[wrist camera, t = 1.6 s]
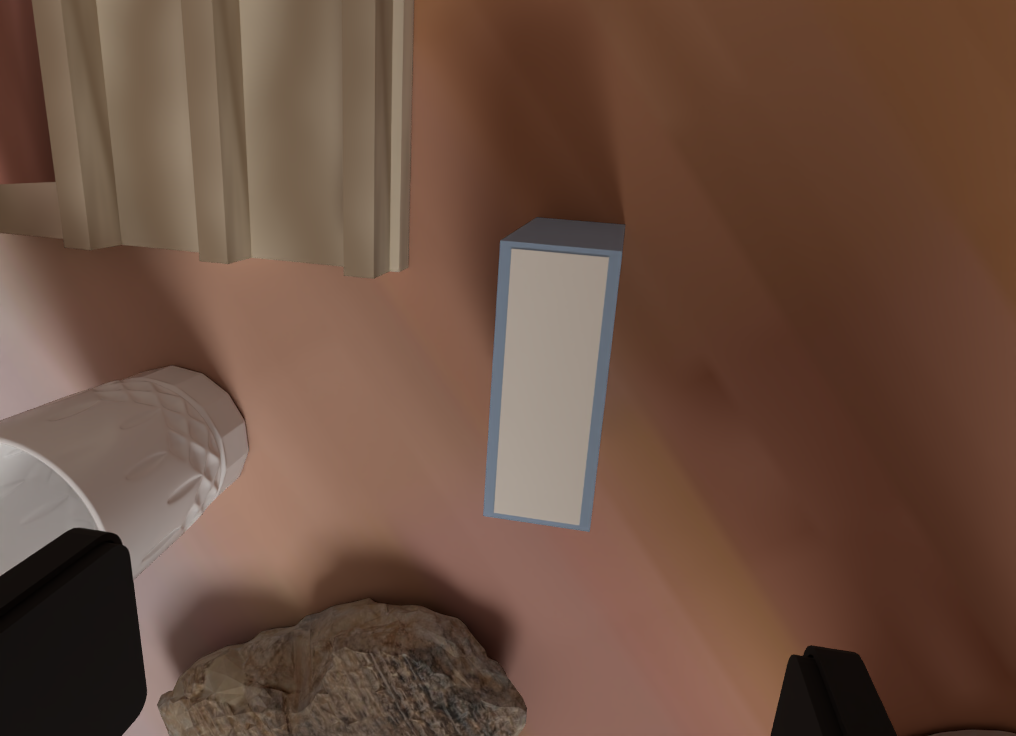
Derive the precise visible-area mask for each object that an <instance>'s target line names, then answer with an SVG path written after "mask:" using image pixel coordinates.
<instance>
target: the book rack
mask: <svg viewBox="0 0 1016 736" xmlns="http://www.w3.org/2000/svg"><path fill="white" fill-rule="evenodd" d="M413 25H414V0H0V233H6V234H17V235H27V236H37V237H47V238H57V239H63V241H64V248H73V249H83V250H95V249H101V248H107V247H112V246H118V245H128V246H139V247H149V248H159V249H169V250H179V251H189V252H199V261H203V262H213V263H223V264H230V263H233V262H237V261H241V260H245V259H248V258H261V259H271V260H281V261H291V262H301V263H311V264H322V265H332V266H342V267H344V276H352V277H362V278H372V279H374V278H376V277H378V276H380V275H383V274H385V273H387V272H389V271H393V272H400V271H402V270H404V269H406V268H408V257H409V211H410V164H411V118H412V71H413Z"/></svg>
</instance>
